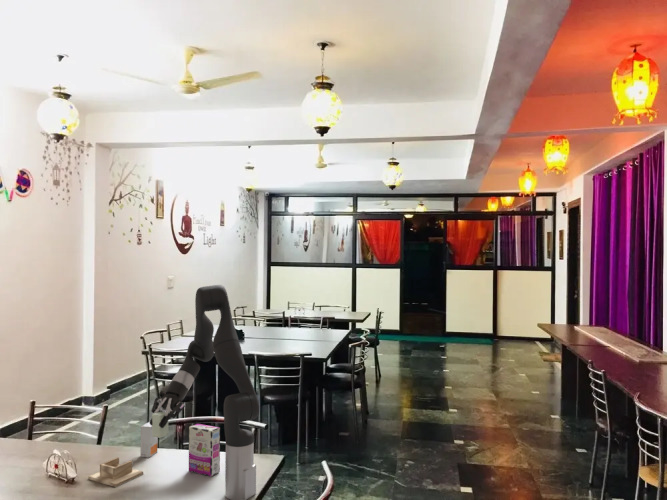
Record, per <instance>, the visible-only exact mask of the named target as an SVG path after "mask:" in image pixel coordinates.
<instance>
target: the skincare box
mask: <svg viewBox="0 0 667 500" xmlns="http://www.w3.org/2000/svg"><path fill="white" fill-rule="evenodd" d="M158 440H159V439H158V437H154V436H152V425H150V421H148V422H146V423H144V424H143V425H141V426H140V452H139V453H140V457H142V458H150V457H152V456H154V455H155V454H156V453H158V442H159V441H158Z"/></svg>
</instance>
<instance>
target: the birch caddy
mask: <svg viewBox="0 0 667 500" xmlns="http://www.w3.org/2000/svg"><path fill="white" fill-rule="evenodd" d="M143 475H144V471H143V470H140V469H139V470H138V469H136V468H133V460H129V461H126V462H124V463H122V464H120V457H118V456H117V457H115V458H112V459H110V460H108V461H105V462H102V463H100V464H99V471H98V472H96V473H95V472H94V473H92V474H91V475H88V476H87V477H88V480H90V481H93V482H97V483H100V484H103V485H108V486H111V487H114V488H117V487H119V486H121V485H123V484H125V483H128V482H130V481H132V480H134V479H136V478H138V477H140V476H143Z"/></svg>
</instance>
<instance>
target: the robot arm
mask: <svg viewBox="0 0 667 500" xmlns="http://www.w3.org/2000/svg"><path fill="white" fill-rule="evenodd" d="M194 303H195V328H194V329H195V330H194V336H193V340H191V341H190V342H189V344H188V346H187V351H186V355H185V357H184V360H183V362H182V364H181V366H180V367H179V369H178V371H177V372H176V373H175V375H174V376H173V378H171V381H170V382H169V385H168V386H167V388H166V389H165V394H164V396H162V397H161V398H158V397H156V398H155V399H154V402H153V405H152V408H151V412H152V414H154V413H157V412H160V411H161V412H166V413H165V416H164V417H163V418H162V420H161V422H160V423H159V426H160V427H161V428H164V426H165V425H166V424H167V422H168V423H169V420H171V419H176V417H177V416H178V415H179V414H180V413H181V412H182V411H183V410H184V409H185V408H186V406H185V404H184V403H183V402H182V401H183V400H184V399H185V397H186V395H187V394H188V393H189V390H190V388H191V387H192V385H193V383H194V380H196V378H197V376H198V374H199V372H200V370H201V366H200V364H199V363H198V362H196V361H195V360H194V359H197V360H199V361H202V362H203V363H207V362H209V361H212V359H213V357H215V359H216V362H217V364H218V366H219V367H220V368H221V369H222V370H223V371H224V372H225V373H226V374H227V375H228V376H229V377H230V378H231V379H232V380H233V381H234V383H235V385H236V386H237V389H238V391H239V392H238V393H234V394H233V393H232V394H229V395H227V396H225V398H224V400H223V401H224V402H223V424H224V425H223V426H224V427H223V428H224V430H223V431H224V437H225V467H224V468H225V475H224V476H225V487H224V488H225V489H224V490H225V491H224V493H225V495H224V496H225V497H226V499H228V500H249V499H250V498H252V497H253V496H254V495H256V494H257V465H256V464H254V463H255V461H254V460H255V459H254V456H255V455H254V454H255V453H254V451H255V449H254V448H255V447H254V445H255V444H254V443H255V436H254V435H255V434H254V432H253V431H251V430H249V429H246V428H245V429H244V428H241V427H240V423H243V422H249V421H252V420H256V419H257V418H258V417H259V415H260V402H259V399H258V396H257V393H256V390H255V388H254V385H253V382H252V381H251V378H250V375H249V372H248V369H247V366H246V361H245V359H244V354H243V351H242V350H243V349H242V347H241V344H240V340H239V337H238V333H237V329H236V327H235V324H234V319H233V315H232V311H231V305H230V301H229V296H228V293H227V289H226V287H225V286H224V285H222V284H214V285H206V286H201V287H198V288H197V290H196V293H195V302H194ZM213 311H219V312H220V320H219V325H218V326H217V330H216V332H215V334H214V331H215V327H214V324H213V322H212V320H211V319H210V317H208V316H207V315H206V312H213ZM193 358H194V359H193ZM149 422H150V425H152V418H151V419H150V420H149Z"/></svg>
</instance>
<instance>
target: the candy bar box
mask: <svg viewBox="0 0 667 500" xmlns="http://www.w3.org/2000/svg"><path fill="white" fill-rule="evenodd" d="M220 455H221V427H219V426H212V425H209V424H208V425H206V424H201V423H195V424H194V425H193V424H192V425H190V426H188V472H192V473H194V474H198V475H203V476H208V477H213V476H215V475H217V474H219V473H220V472H221V469H220V468H221V467H220V466H221V465H220V464H221V463H220V461H221V458H220V457H221V456H220Z"/></svg>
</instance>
